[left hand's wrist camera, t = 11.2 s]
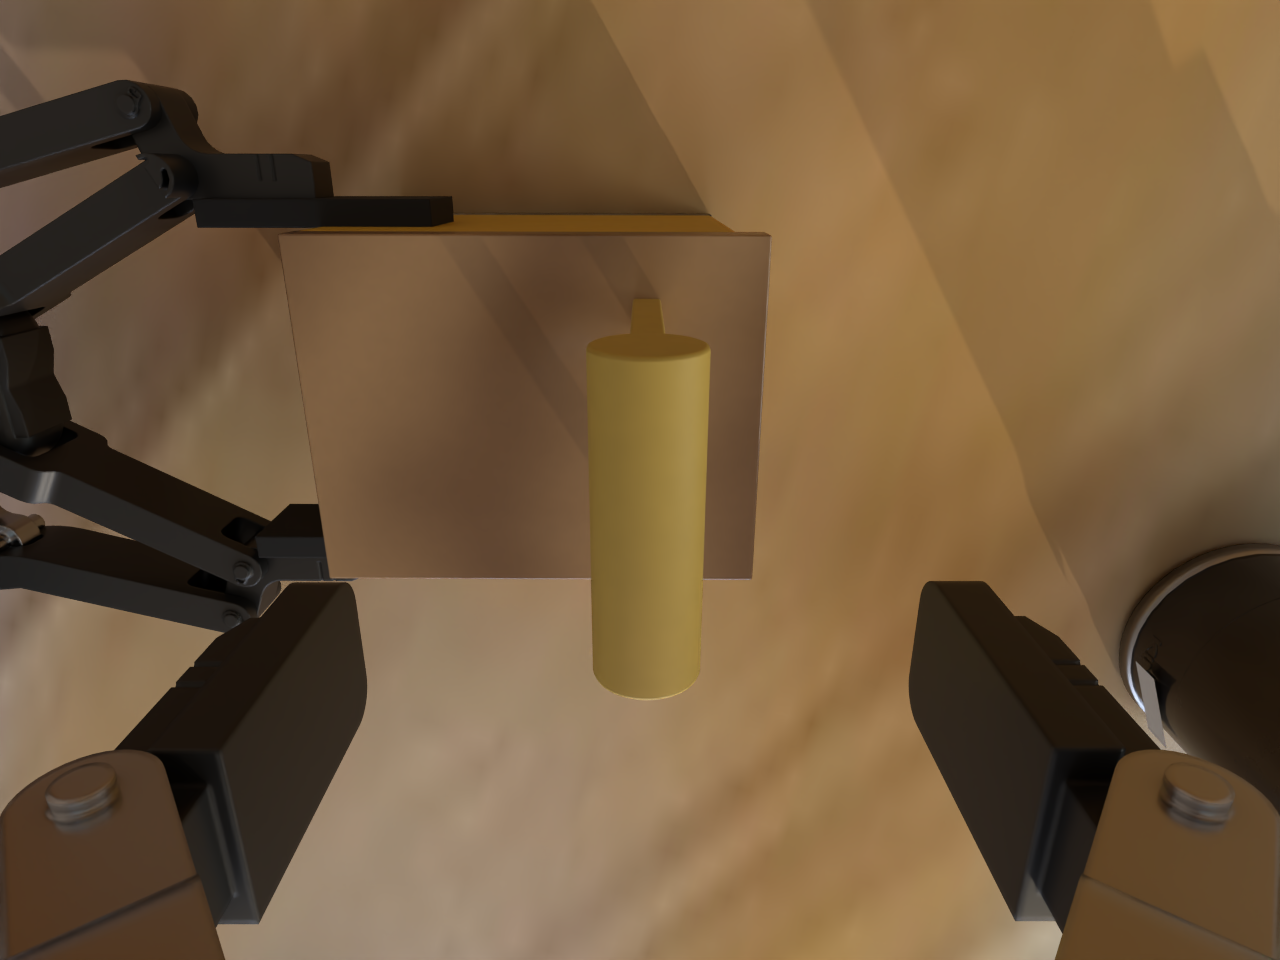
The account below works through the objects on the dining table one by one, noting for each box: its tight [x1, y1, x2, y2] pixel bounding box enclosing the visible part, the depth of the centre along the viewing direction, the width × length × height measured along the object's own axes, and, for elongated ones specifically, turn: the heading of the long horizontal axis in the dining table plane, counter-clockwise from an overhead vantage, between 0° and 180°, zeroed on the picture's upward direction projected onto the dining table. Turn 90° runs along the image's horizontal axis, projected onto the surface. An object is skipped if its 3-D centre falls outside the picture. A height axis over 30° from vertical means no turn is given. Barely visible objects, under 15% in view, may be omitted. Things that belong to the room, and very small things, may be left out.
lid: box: [278, 231, 772, 700], centre depth 18 cm, size 12×10×9 cm
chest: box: [300, 213, 734, 232], centre depth 27 cm, size 11×10×10 cm
